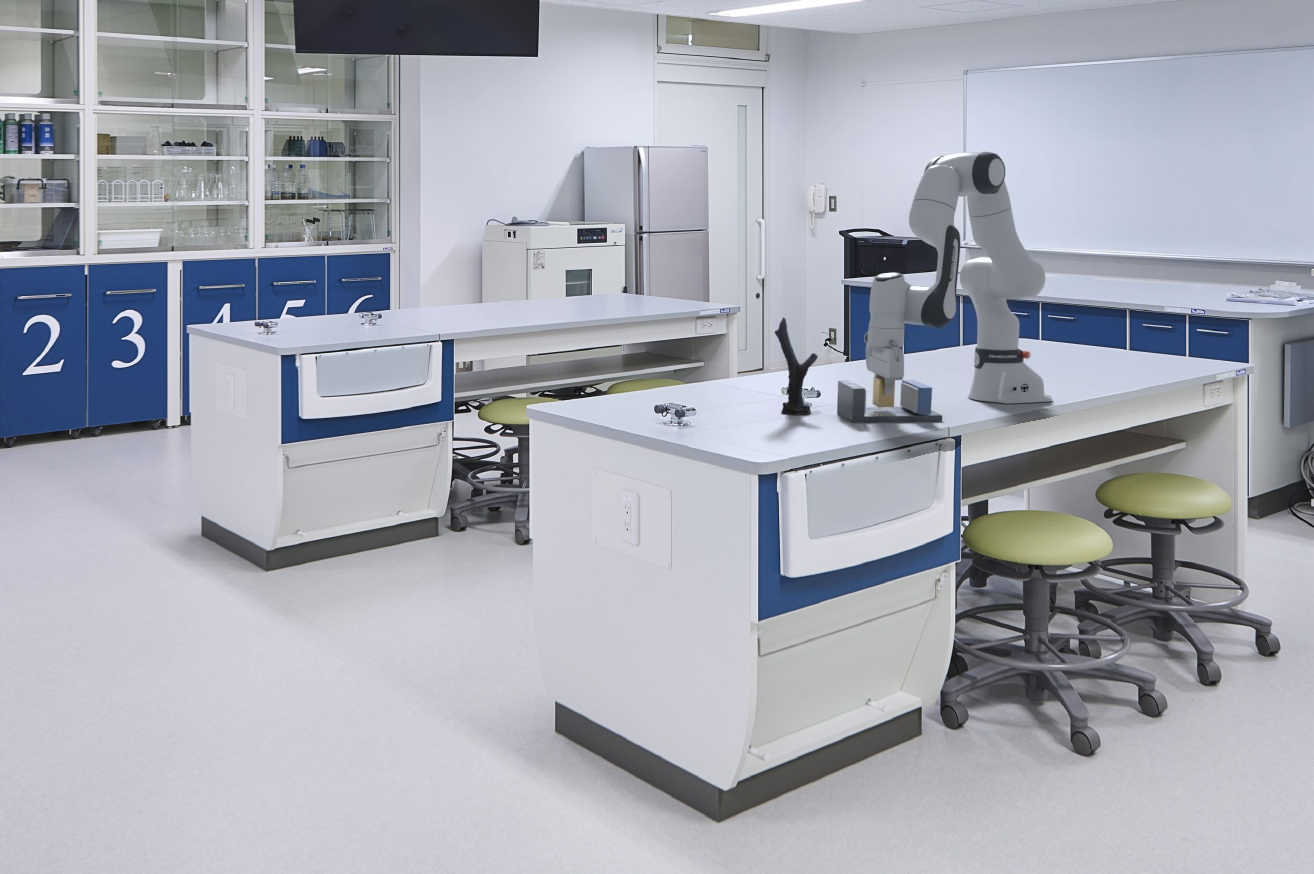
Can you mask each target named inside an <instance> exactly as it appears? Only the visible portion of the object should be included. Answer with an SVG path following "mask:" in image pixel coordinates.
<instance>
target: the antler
mask: <svg viewBox="0 0 1314 874" xmlns="http://www.w3.org/2000/svg"><path fill="white" fill-rule="evenodd" d="M774 335H775V336H776V337H777V339H778V342H779V344H780V348H781V351H782V353H783V355H784V358H785V361H786V362H787V371H788V383H787V389H786V392H787V394H788V396H787V399H788V401H786V402H785V401H784V402H782V409H781V411H780V413H782V414H787V415H790V416H801V415H803V416H804V415H809V414H811V413H812V410H811V406H810V405H809V404H807V403H806V404H805V403H804V400H803V386H804V379H805V377H806V376H807V374H808V371H809V369H810V367H812V366H813V364H814V363H815V362H816V361H817V359H818V357H819V355H818V354H816V353H811V354H810V355H809V357H807V359H806V360H805V361H804V362H802V363H799V361H798V359H797V357H796V354H795V351H794V348H793V346H792V343H791V341H790V339H791V338H790V336H789V332H788V324H787V320H786V317H782V319H781V320H780V322H779V325H778V329H777V330H775V331H774Z"/></svg>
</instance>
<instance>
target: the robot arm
mask: <svg viewBox="0 0 1314 874" xmlns="http://www.w3.org/2000/svg"><path fill="white" fill-rule="evenodd" d="M1005 179H1006V165H1005V163H1004V161H1003V159H1002V158H1001V157H1000V155H999V154H997V153H994V152H991V151H982V152H975V151H974V152H971V151H970V152H961V153H954V154H949V155H940V156H937V157H934V158H932V159H930V161H929V162H928V164H927V165H926V166H925V169H924V170H923V175H922V176H921V178H920V181H919V183H918V184H917V185H918V186H917V188H916V191H915V193H914V197H913V200H912V203H911V207H910V209H909V210H910V211H909V213H908V214H909V215H908V224H909V228H910V230H911V232H912V233H913V235H914V236H916V237H917V238H918V239H919V240H921V241H922V242H924V243H925V244H927V245H930V246H932V247H933V248H935V249H936V251H937V265H936V275H935V282H934V284H933V285H932V286H918V285H912V284H910V283H908V282H907V281H906V280H905V275H904V274H903V273H900V272H887V273H886V272H885V273H880V274H877V275H876V276H875V277H874V278H873V280H872V282H871V283H872V284H871V288H870V294H869V314H870V320H869V323H868V331H867V332H866V333H865V334H864V335H863V336H864V337H863V340H864V343H865V345H866V346H865V364H866V369H867V371H868V372H871V373H873V374H874V376H873V378H874V377H884V378H885V388H884V395H886V396H891V395H892V389H893V386H894V383H895V384H896V381H902V380H904V377H905V355H904V350H903V349H902V348H903V347H904V346H905V324H909V325H918V326H926V327H931V328H936V329H942V328H944V327H945V326H947V325H948V324H950V323H951V322H952V321H953V319H954V318H955V316H956V314H957V308H958V302H957V301H958V299H957V298H958V297H957V286H958V285H957V284H958V276H959V283H960V286H961V288H962V289H963V291H965V293H966V294H967V295H968V296H969V298H970V300H971V302H972V304H973V307H974V310H975V313H976V320H977V331H976V332H977V334H976V335H977V336H976V337H977V339H976V347H975V349H974V354H973V355H974V357H973V364H974V365H973V367H974V371H973V372H974V373H973V377H972V378H973V379H972V381H971V382H972V383H971V387H970V391H969V392H968V395H967V397H968V399H971V400H976V401H980V402H991V403H1000V404H1026V403H1027V404H1028V403H1048V402H1053V396H1051V395H1049V394H1047V393H1045V384H1044V380H1043V378H1042V377H1041V376H1040V375H1039V373H1037V372H1036V371H1034V370H1033V368H1031V367H1030V366H1029V365H1028V364H1026V363H1025V362H1024V359H1025V360H1029V359H1030V358H1031V356H1032V353H1031V352H1030V351H1029V350H1028V351H1027V350H1024V351H1023V350H1022V349H1020V348H1019V341H1020V340H1019V339H1020V338H1019V337H1020V325H1021V324H1020V320H1019V318H1018V316H1016V315H1015V314H1014V313H1013V312H1012V311H1011V310H1010V308H1009V306H1008V302H1007V300H1008V299H1009V300H1023V299H1029V298H1031V299H1032V298H1035V297H1036V296H1038V295H1040V293H1041V292H1042V291H1043V290H1044V286H1045V284H1046V273H1045V270H1044V268H1043V265H1041V264H1040V263H1039V262H1037V260H1036V259H1034V258H1033V257H1032V256H1031V255H1030V254H1029V253H1028V252H1027V250H1026V249H1025V247H1024V245H1023V243H1022V242H1021V240H1020V238H1019V236H1018V233H1017V230H1016V225H1015V220H1014V215H1013V210H1012V203H1011V199H1010V195H1009V194H1010V193H1009V191H1008V187H1007V183H1006V181H1005ZM959 197H966V199H967V201H966V202H967V209H968V211H967V212H968V216H969V217H968V218H969V221H970V227H971V232H972V233H971V234H972V239H973V241H974V244H976V246H978V247H979V248H980V249H982V250H983V251H984V252H985V253H986V254H987V256H981V257H977V258H976V257H975V258H973V259H972V258H971V259H969V260H967V261H966V262H964V264H963V265H962V267H961V269H960V272H959V267H960V265H959V263H960V256H961V234H960V232H959V230H958V229H957V228H956V226H955V213H956V209H957V207H958V201H959ZM958 274H959V275H958ZM900 347H902V348H900Z"/></svg>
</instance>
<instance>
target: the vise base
mask: <svg viewBox="0 0 1314 874" xmlns="http://www.w3.org/2000/svg"><path fill="white" fill-rule="evenodd" d="M836 403H837V405H836V407H837V408H836V414H837V415H839V416H841V417H843V418H844V419H846V421H847V420H848V422H851V424H852V423H853V424H855V423H857V422H866V423H912V422H914V423H919V422H921V423H922V422H923V423H925V422H927V423H929V422H943V414H940V413H938V412H936V411H934V410H933V409H931V414H923V415H919V414H917V413H914V412H912V411H910V410H908V409H906V408H904V407H902V406H894V407H877V406H867V389H866V387H863V386H861V385H860V384H857V383H855V382H853V381H851V380H849V379H848V380H838V381H837V402H836ZM857 424H858V423H857Z"/></svg>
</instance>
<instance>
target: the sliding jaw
mask: <svg viewBox="0 0 1314 874" xmlns="http://www.w3.org/2000/svg"><path fill="white" fill-rule="evenodd" d="M932 396H933V387H931V386H929V385H926V384H925V383H922V382H920V381H917V380H915V379H902V380H901V382H900V402H899V403H900V404H899V407H904V408H906V409H908V410H910V411H912V412H914V413H917V414H919V415H923V414H931V410H932V401H933V400H932V399H933V397H932Z"/></svg>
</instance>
